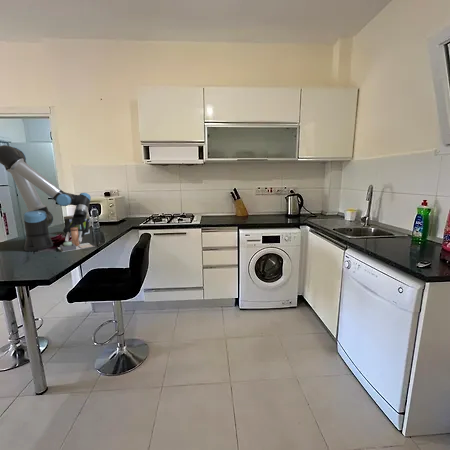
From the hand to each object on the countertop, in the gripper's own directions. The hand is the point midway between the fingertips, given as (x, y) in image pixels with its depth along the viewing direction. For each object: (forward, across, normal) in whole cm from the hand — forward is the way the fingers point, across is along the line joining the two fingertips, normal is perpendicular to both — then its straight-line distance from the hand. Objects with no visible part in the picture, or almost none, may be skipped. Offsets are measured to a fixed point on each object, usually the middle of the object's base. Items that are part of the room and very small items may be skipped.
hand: (73, 241), depth 168 cm
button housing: (+7, +1, +1) cm, 8 cm away
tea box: (-30, +16, -36) cm, 50 cm away
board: (+4, -2, -3) cm, 5 cm away
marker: (0, 0, -5) cm, 5 cm away
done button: (+6, +1, +3) cm, 6 cm away
